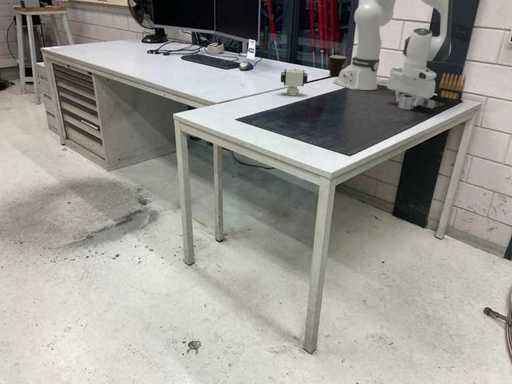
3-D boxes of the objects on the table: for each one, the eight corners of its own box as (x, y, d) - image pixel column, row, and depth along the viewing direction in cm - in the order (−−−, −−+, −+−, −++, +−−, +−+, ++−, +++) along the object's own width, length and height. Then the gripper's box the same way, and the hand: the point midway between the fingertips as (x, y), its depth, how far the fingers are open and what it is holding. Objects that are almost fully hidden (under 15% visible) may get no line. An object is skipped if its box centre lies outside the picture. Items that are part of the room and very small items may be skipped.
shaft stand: (406, 103, 185) (408, 91, 182) (419, 98, 192) (422, 87, 190) (431, 109, 177) (434, 97, 175) (444, 105, 185) (447, 93, 182)
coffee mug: (334, 73, 234) (336, 54, 229) (346, 76, 228) (349, 57, 224) (320, 75, 227) (322, 56, 223) (332, 78, 222) (335, 59, 217)
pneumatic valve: (305, 96, 188) (308, 70, 182) (280, 95, 188) (281, 68, 182) (304, 93, 192) (307, 67, 187) (279, 92, 192) (281, 66, 187)
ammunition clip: (435, 98, 194) (442, 72, 189) (436, 97, 196) (443, 71, 190) (459, 102, 189) (467, 76, 184) (460, 101, 191) (468, 75, 185)
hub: (395, 106, 178) (397, 95, 176) (402, 104, 182) (405, 93, 180) (408, 110, 174) (410, 98, 172) (415, 107, 178) (417, 96, 176)
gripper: (387, 67, 176) (381, 99, 182) (432, 76, 162) (424, 110, 169) (395, 65, 179) (389, 96, 186) (440, 74, 166) (431, 108, 173)
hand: (406, 103), depth 177 cm, fingers closed on hub, 6 cm apart
